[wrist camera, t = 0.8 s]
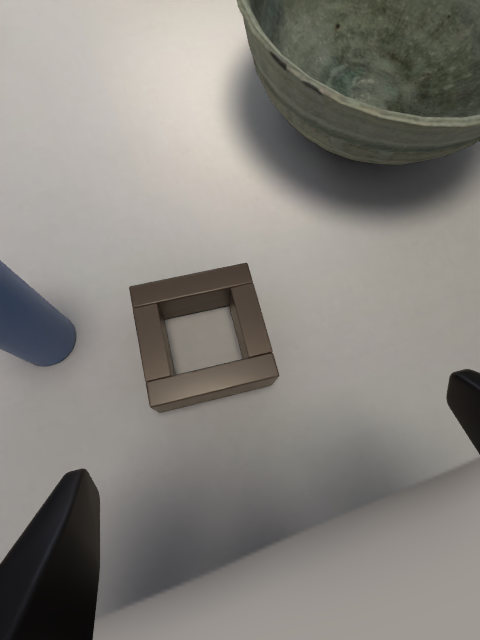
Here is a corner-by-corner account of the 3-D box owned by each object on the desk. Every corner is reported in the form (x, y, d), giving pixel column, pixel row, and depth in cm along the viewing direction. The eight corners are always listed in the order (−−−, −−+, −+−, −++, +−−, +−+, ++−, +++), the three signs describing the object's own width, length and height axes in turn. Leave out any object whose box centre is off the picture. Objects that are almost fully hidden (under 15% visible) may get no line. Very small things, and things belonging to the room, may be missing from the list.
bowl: (468, 35, 35) (559, -120, 26) (502, 237, 28) (644, 129, 19) (238, 12, 35) (245, -154, 25) (218, 212, 28) (216, 88, 18)
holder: (272, 385, 24) (279, 375, 21) (158, 413, 23) (149, 407, 20) (244, 282, 26) (247, 261, 23) (138, 304, 25) (128, 286, 22)
